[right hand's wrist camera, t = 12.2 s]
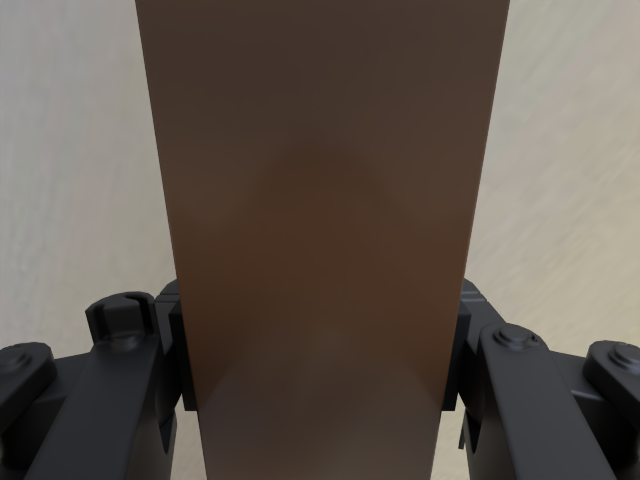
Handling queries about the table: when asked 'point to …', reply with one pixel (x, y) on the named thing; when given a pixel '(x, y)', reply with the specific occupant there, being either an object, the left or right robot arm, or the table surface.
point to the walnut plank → (320, 219)
